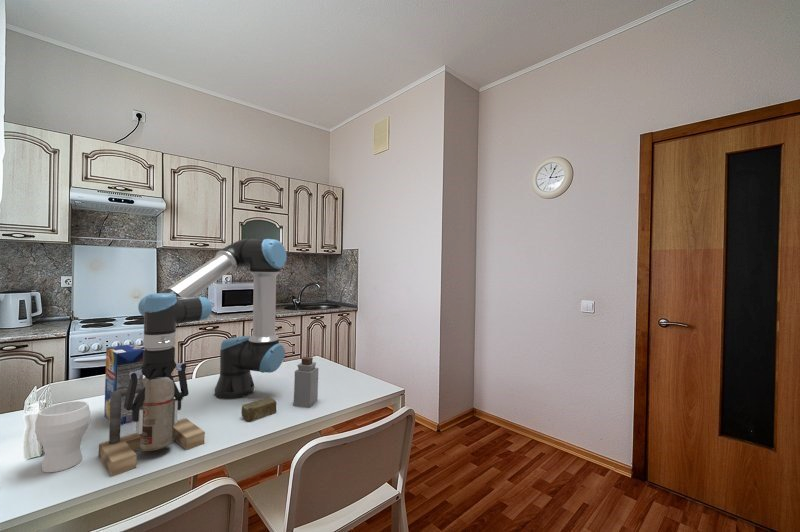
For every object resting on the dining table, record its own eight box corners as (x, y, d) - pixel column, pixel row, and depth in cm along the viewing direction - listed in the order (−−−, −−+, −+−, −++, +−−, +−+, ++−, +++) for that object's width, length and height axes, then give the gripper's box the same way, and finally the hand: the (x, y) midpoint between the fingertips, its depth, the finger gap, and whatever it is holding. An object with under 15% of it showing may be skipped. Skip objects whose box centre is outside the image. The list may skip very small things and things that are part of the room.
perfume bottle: (309, 407, 134) (311, 360, 134) (293, 405, 135) (295, 359, 135) (317, 401, 140) (318, 356, 140) (301, 399, 142) (303, 355, 142)
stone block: (240, 418, 123) (240, 404, 123) (269, 408, 133) (269, 395, 133) (248, 423, 120) (249, 408, 120) (278, 412, 129) (278, 399, 129)
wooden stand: (98, 456, 97) (100, 393, 97) (185, 428, 114) (187, 375, 114) (112, 476, 88) (114, 407, 88) (204, 443, 105) (206, 385, 105)
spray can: (134, 445, 99) (136, 375, 99) (167, 434, 106) (169, 369, 106) (143, 456, 94) (145, 382, 94) (177, 444, 100) (179, 375, 100)
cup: (47, 480, 86) (49, 419, 86) (24, 469, 90) (26, 411, 90) (98, 458, 96) (99, 404, 96) (75, 450, 100) (77, 397, 100)
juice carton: (104, 416, 121) (106, 347, 121) (130, 409, 127) (132, 344, 127) (114, 427, 114) (116, 353, 114) (141, 419, 120) (144, 349, 120)
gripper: (117, 356, 90) (115, 445, 90) (203, 344, 106) (201, 419, 106) (110, 351, 94) (107, 435, 94) (193, 340, 110) (191, 412, 110)
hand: (157, 426), depth 100 cm, fingers closed on spray can, 8 cm apart
